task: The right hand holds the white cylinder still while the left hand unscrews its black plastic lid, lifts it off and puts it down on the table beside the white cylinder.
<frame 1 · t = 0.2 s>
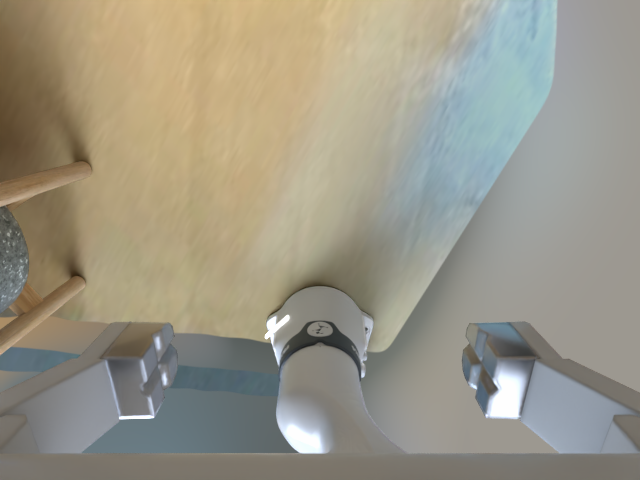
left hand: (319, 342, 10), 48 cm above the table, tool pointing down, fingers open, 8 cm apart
planter: (17, 213, 59), on the table
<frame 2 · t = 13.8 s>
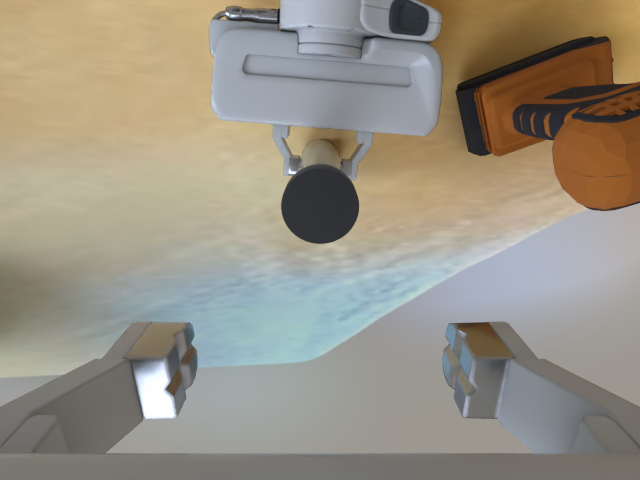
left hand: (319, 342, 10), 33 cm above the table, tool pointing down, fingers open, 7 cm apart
lid: (320, 206, 23), point 19 cm above the table, screwed on, not yet turned
white cylinder: (320, 158, 41), on the table, touching right hand
power drill: (542, 90, 39), on the table
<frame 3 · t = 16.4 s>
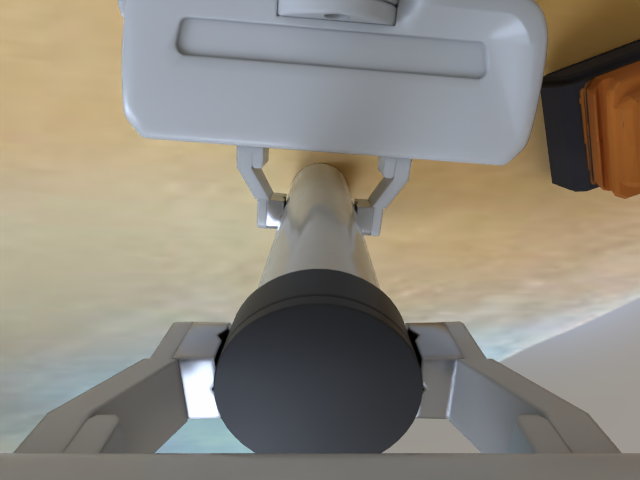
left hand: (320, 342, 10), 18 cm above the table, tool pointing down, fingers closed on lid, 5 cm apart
lid: (318, 384, 9), point 19 cm above the table, screwed on, not yet turned, touching left hand
white cylinder: (319, 191, 27), on the table, touching right hand
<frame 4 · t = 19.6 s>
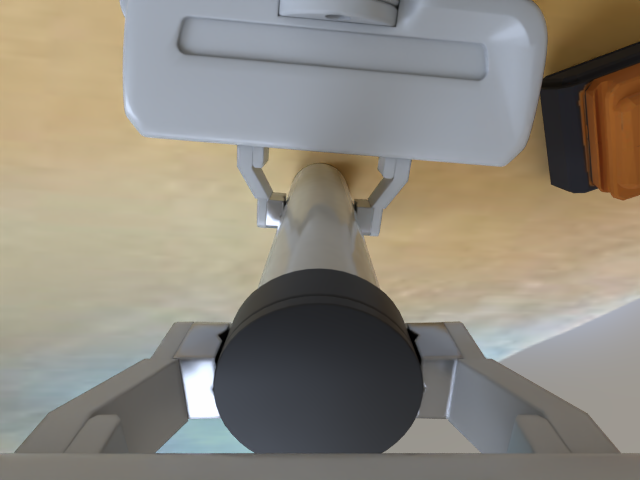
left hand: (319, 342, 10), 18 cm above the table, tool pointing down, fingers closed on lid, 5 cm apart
lid: (318, 384, 9), point 19 cm above the table, turned 72° so far, risen 0.1 cm, still on its thread, touching left hand
white cylinder: (319, 191, 27), on the table, touching right hand
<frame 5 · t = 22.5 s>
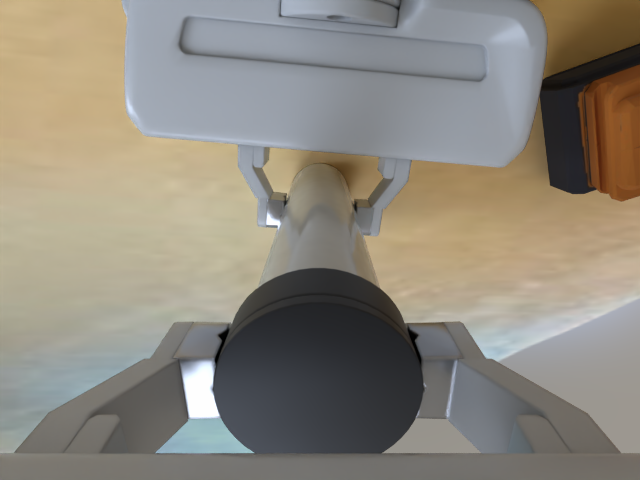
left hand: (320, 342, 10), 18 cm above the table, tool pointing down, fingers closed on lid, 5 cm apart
lid: (318, 384, 9), point 19 cm above the table, turned 145° so far, risen 0.2 cm, still on its thread, touching left hand
white cylinder: (319, 191, 27), on the table, touching right hand
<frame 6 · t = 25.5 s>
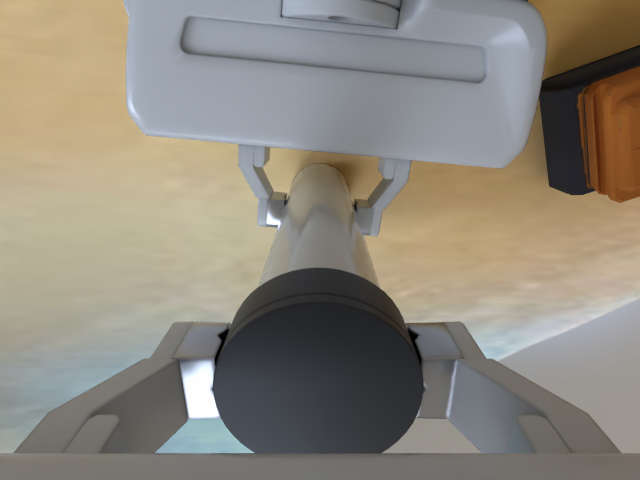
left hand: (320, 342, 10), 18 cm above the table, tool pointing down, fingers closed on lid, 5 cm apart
lid: (318, 383, 9), point 20 cm above the table, turned 217° so far, risen 0.2 cm, still on its thread, touching left hand
white cylinder: (319, 191, 27), on the table, touching right hand
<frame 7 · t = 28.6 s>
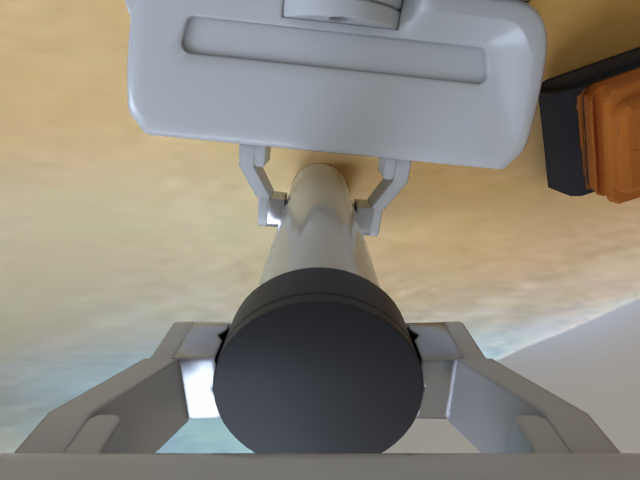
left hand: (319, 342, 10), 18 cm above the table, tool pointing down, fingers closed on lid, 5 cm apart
lid: (318, 383, 9), point 20 cm above the table, turned 290° so far, risen 0.3 cm, still on its thread, touching left hand
white cylinder: (319, 191, 27), on the table, touching right hand
when the left hand's fingers open (2 cm above the table, at t = 35.3 s): lid drops 2 cm, point 1 cm above the table.
when the right hand's fingers open (6 cm above the table, at t = 36.4 s): white cylinder stays where it is, on the table.
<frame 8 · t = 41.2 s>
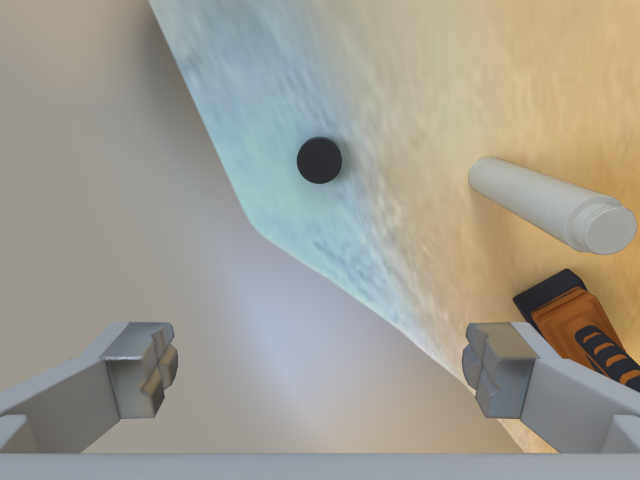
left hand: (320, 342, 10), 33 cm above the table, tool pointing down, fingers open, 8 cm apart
lid: (319, 161, 40), point 1 cm above the table, off its thread
white cylinder: (486, 174, 42), on the table
power drill: (562, 327, 49), on the table
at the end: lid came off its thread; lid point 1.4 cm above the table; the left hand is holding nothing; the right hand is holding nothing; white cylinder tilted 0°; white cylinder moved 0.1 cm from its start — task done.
